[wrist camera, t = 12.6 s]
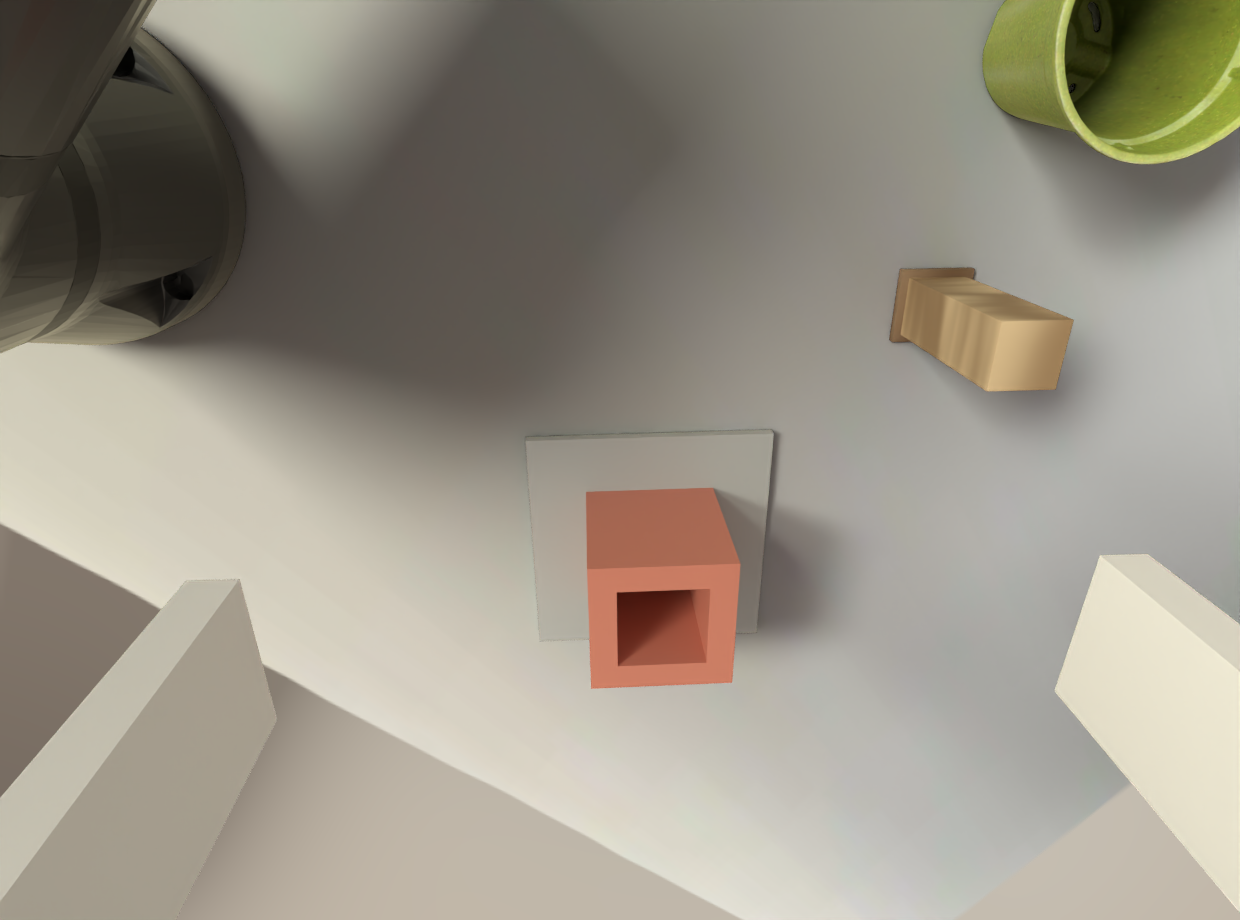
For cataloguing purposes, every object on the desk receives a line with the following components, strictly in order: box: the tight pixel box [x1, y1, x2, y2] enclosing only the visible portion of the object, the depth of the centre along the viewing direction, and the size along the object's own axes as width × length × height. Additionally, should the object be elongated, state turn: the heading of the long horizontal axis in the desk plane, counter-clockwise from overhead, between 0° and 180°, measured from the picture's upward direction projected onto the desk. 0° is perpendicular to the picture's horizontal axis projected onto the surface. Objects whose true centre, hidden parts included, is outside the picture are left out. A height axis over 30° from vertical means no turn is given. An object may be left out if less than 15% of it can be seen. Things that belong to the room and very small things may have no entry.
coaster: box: [525, 429, 774, 641], centre depth 44 cm, size 14×14×1 cm
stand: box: [889, 268, 1073, 391], centre depth 34 cm, size 4×4×10 cm
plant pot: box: [983, 0, 1240, 164], centre depth 30 cm, size 9×9×9 cm
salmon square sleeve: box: [586, 488, 740, 689], centre depth 40 cm, size 7×7×8 cm
